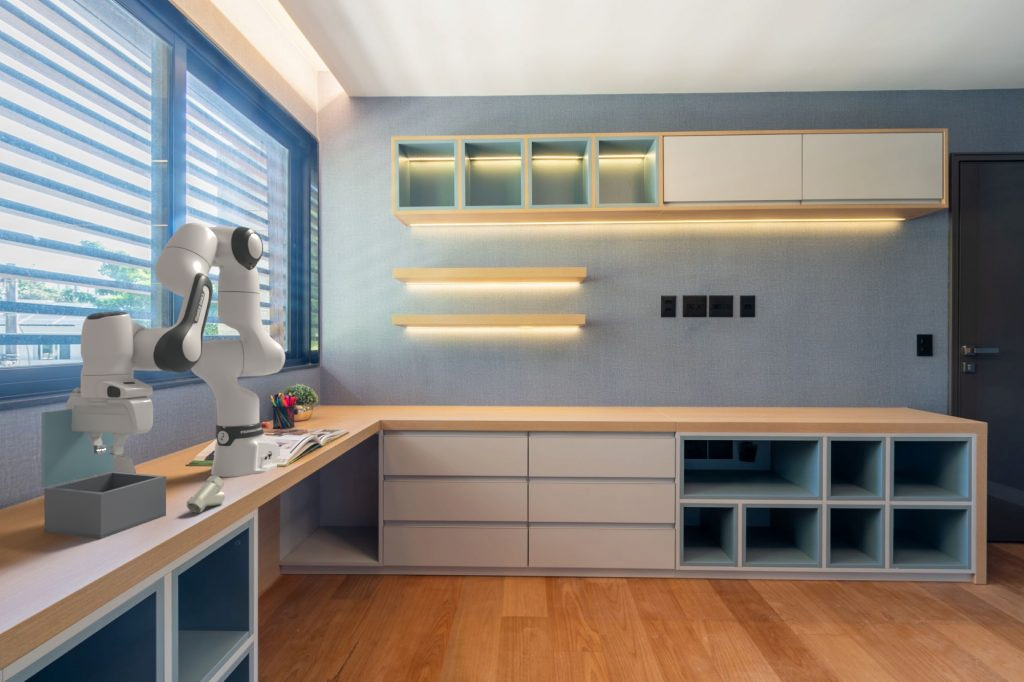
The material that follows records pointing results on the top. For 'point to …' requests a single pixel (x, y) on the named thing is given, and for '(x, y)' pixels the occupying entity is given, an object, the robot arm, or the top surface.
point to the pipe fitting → (207, 495)
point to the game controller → (120, 465)
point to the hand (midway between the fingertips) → (107, 453)
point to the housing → (104, 504)
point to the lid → (70, 450)
